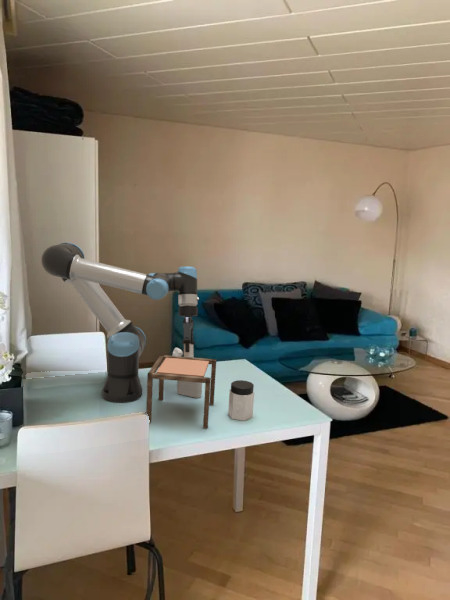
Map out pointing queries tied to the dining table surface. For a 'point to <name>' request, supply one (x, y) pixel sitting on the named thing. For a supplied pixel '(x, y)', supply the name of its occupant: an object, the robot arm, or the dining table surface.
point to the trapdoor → (183, 367)
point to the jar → (241, 400)
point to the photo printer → (189, 388)
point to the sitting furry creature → (177, 352)
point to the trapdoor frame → (153, 375)
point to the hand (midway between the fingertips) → (189, 361)
